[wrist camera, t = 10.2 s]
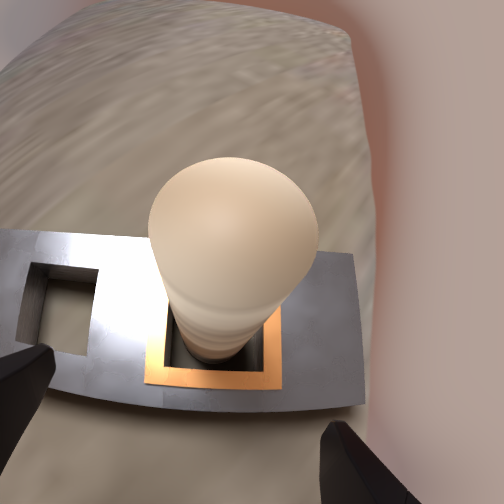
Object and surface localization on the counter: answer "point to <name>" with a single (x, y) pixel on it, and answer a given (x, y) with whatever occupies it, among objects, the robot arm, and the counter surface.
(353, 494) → the robot arm
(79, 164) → the counter surface
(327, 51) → the counter surface
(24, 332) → the silver slotted plate
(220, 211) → the peg
